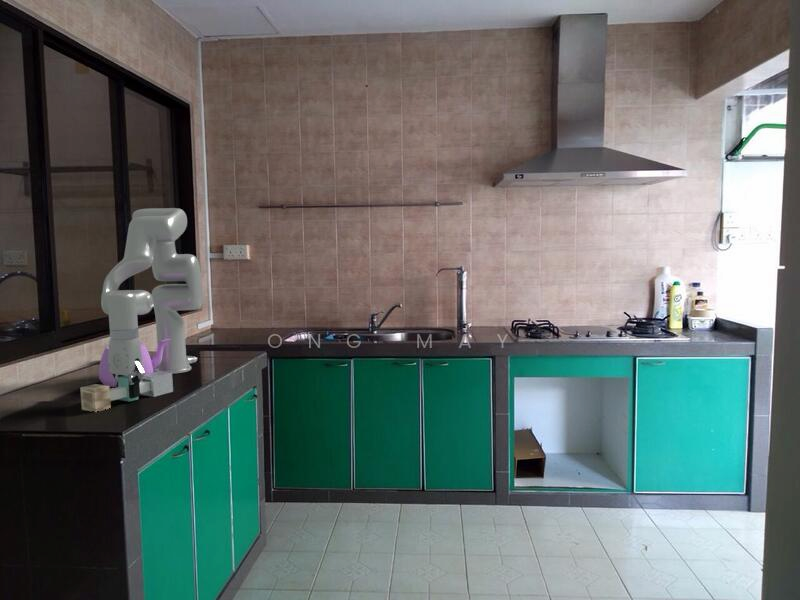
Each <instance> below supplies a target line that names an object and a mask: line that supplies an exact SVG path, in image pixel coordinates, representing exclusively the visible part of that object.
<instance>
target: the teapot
mask: <svg viewBox="0 0 800 600" xmlns="http://www.w3.org/2000/svg"><path fill="white" fill-rule="evenodd" d="M169 340H170V339H166V340H162V341H160V342H159V344H158V346H157V347H156V353H155V354H154V355H153V356H152V357H151V356H150V353H149V351H148V349H147V347H146V345H145V344H144V343H142V342H140V347H141V352H142V361H143V370H144V372H145V374H148V373H152V372H154V370H155V369H156V368H158V367H159V365H160V363H161V360H162V355H163V348H164V346H165V344H166V343H167V342H168V341H169ZM108 350H109V345H107V346H106V347H105V348H104V349H103V353H102V355H101V358H100V361H99V368H98V378H99V381H100V382H101V383H102V385H105V386H109V388H111V387H116V383H115V378H114V377H113V374H112V373H110V372H109V365H108ZM133 373H135V372H133ZM131 374H132V373H131ZM134 376H135V375H134Z"/></svg>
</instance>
